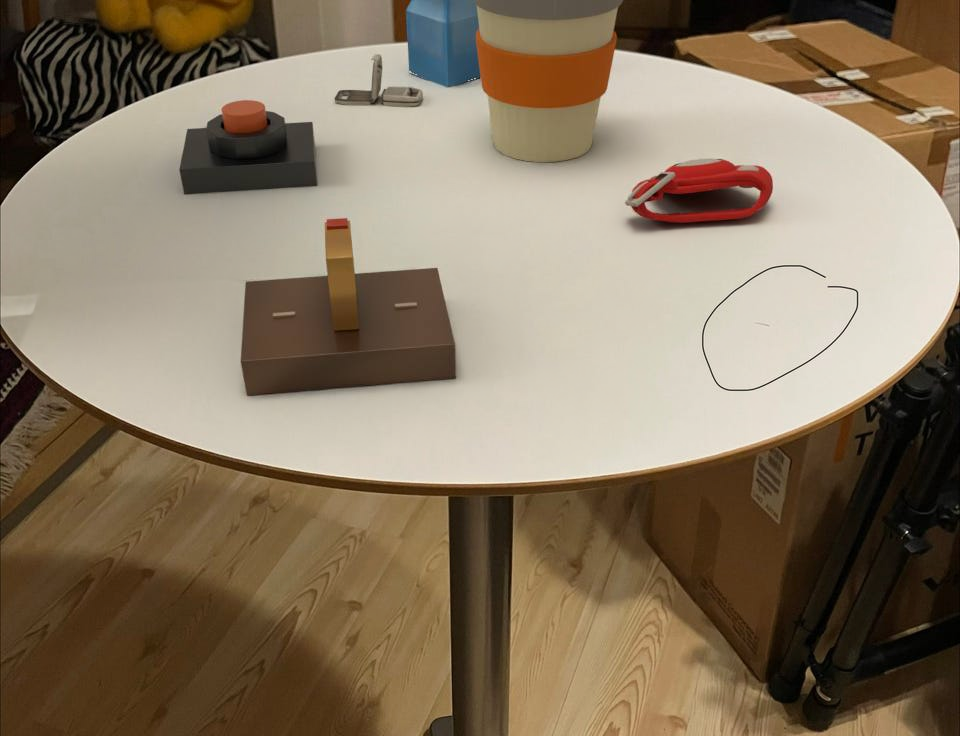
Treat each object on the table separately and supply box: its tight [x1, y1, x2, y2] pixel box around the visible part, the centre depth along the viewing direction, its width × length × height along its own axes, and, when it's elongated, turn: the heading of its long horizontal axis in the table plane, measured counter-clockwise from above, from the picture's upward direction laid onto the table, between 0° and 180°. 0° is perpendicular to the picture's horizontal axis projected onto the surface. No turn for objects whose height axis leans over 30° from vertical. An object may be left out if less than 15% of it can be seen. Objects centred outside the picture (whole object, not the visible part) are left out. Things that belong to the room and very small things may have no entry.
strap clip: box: [334, 54, 424, 108], centre depth 102 cm, size 8×3×4 cm, turn 84°
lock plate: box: [240, 267, 457, 396], centre depth 68 cm, size 13×10×3 cm
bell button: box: [220, 99, 268, 133], centre depth 88 cm, size 4×4×2 cm
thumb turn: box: [324, 217, 359, 331], centre depth 65 cm, size 5×2×5 cm, turn 7°
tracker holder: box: [624, 158, 774, 223], centre depth 83 cm, size 12×4×10 cm
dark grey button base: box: [179, 110, 318, 195], centre depth 89 cm, size 11×9×4 cm
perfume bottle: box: [405, 0, 481, 88], centre depth 105 cm, size 6×6×12 cm
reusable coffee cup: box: [473, 0, 624, 163], centre depth 90 cm, size 13×12×15 cm
